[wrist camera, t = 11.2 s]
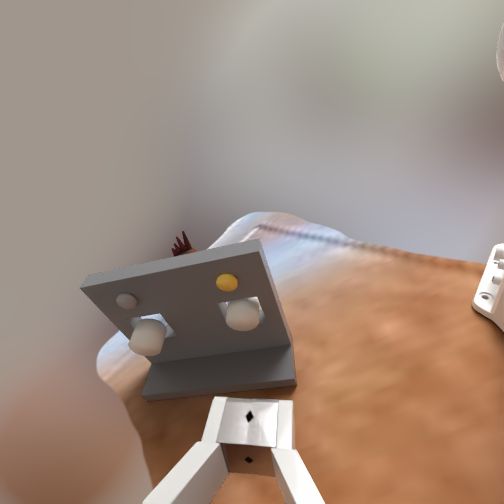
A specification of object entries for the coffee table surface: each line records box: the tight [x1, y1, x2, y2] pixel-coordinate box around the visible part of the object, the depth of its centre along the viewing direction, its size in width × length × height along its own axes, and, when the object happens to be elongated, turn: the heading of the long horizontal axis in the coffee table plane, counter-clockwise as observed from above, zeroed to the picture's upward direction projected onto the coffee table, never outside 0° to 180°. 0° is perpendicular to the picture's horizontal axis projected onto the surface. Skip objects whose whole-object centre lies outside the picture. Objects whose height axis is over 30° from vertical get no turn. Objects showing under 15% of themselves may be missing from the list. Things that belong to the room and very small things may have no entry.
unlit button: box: [128, 319, 167, 356], centre depth 39 cm, size 3×4×4 cm
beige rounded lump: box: [226, 297, 259, 331], centre depth 38 cm, size 3×4×4 cm
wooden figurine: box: [172, 231, 197, 257], centre depth 57 cm, size 7×6×15 cm
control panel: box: [80, 239, 297, 401], centre depth 39 cm, size 8×24×21 cm, turn 89°
